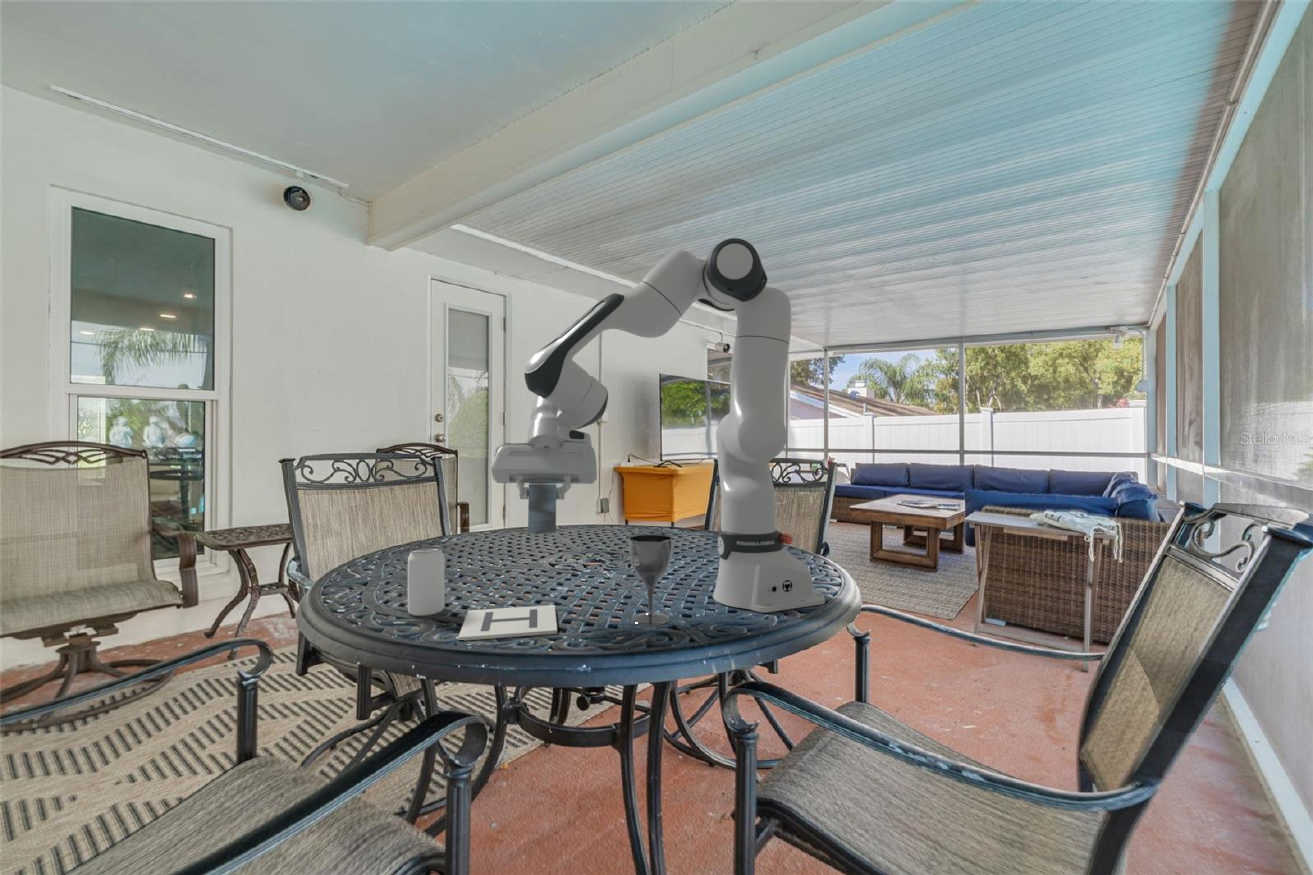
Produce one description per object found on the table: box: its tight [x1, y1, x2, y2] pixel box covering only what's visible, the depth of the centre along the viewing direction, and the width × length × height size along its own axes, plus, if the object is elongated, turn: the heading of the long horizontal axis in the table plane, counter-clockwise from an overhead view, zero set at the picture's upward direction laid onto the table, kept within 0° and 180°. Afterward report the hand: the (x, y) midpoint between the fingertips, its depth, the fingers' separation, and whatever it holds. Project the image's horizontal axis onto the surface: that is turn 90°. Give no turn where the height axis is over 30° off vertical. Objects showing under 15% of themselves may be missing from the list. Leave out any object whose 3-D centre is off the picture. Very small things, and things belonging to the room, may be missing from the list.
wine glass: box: [628, 533, 673, 627], centre depth 102 cm, size 8×8×15 cm
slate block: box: [527, 482, 557, 534], centre depth 106 cm, size 5×5×9 cm
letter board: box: [457, 604, 558, 641], centre depth 100 cm, size 16×14×1 cm
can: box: [407, 545, 445, 617], centre depth 106 cm, size 6×6×12 cm
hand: (541, 497), depth 105 cm, fingers closed on slate block, 5 cm apart
